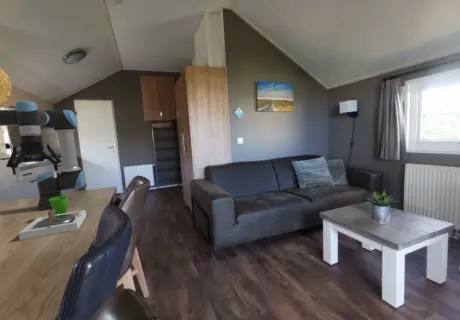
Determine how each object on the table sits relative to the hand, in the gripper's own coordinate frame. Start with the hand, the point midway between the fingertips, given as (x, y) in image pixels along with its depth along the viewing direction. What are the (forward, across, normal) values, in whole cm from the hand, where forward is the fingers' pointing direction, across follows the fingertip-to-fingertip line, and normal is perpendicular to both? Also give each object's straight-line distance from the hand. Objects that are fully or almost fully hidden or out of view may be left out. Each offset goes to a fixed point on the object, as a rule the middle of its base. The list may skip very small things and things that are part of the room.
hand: (37, 179), depth 107 cm
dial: (+24, +4, +4) cm, 24 cm away
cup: (+26, +1, +23) cm, 34 cm away
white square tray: (+26, +4, +4) cm, 26 cm away
